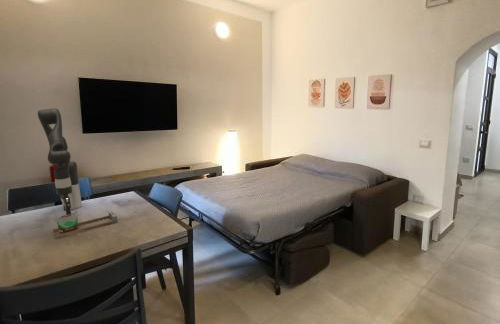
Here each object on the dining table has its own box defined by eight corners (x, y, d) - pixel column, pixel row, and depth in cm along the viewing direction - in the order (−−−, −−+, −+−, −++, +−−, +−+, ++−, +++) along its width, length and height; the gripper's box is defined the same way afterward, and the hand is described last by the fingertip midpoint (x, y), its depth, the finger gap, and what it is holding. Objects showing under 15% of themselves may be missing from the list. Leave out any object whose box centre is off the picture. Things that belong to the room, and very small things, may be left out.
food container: (61, 236, 160) (58, 219, 158) (56, 233, 164) (54, 217, 162) (84, 228, 170) (81, 212, 168) (79, 225, 173) (77, 210, 171)
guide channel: (53, 231, 166) (51, 225, 165) (112, 216, 187) (111, 211, 186) (55, 238, 157) (54, 231, 157) (117, 222, 178) (116, 216, 177)
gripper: (53, 184, 164) (58, 210, 167) (57, 189, 153) (61, 217, 156) (69, 181, 168) (72, 207, 172) (73, 187, 158) (77, 214, 161)
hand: (67, 212), depth 164 cm, fingers open, 8 cm apart
